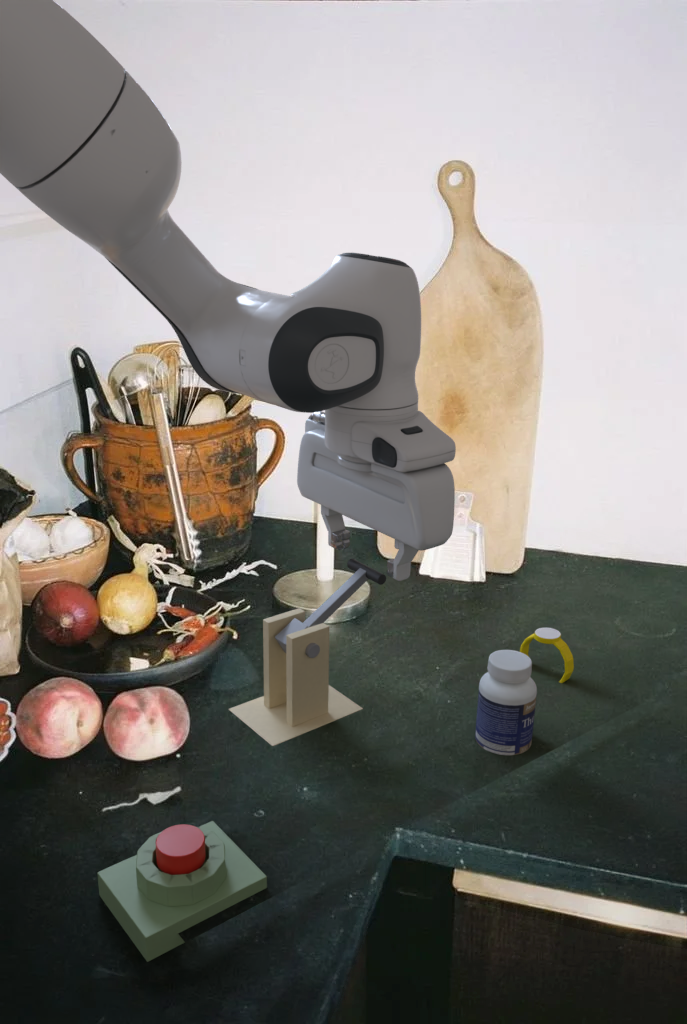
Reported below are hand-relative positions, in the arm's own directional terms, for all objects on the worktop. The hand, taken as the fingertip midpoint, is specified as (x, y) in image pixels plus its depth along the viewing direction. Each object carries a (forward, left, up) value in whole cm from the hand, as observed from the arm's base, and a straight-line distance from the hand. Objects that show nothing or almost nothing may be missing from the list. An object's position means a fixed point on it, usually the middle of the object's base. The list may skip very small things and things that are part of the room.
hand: (367, 561), depth 94 cm
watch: (+17, -10, -15) cm, 25 cm away
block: (-30, -15, -15) cm, 36 cm away
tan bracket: (-9, 0, -15) cm, 17 cm away
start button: (-30, -15, -11) cm, 35 cm away
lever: (-4, 0, -5) cm, 6 cm away
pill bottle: (+4, -16, -15) cm, 22 cm away
